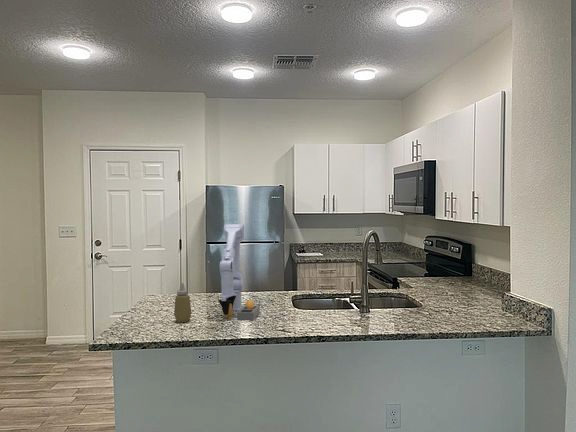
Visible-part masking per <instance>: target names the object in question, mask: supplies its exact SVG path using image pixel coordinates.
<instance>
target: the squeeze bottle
mask: <svg viewBox="0 0 576 432" xmlns="http://www.w3.org/2000/svg"><path fill="white" fill-rule="evenodd" d="M176 292H177V295H176V296H174V297H175V298H174V299H175V300H174V311H173V315H174V317H175V321H176V322H177V323H186V322H187V323H188V322H189V321H190V320H191V316H192V306H191V298H190V297H191V296H190V294H188V290H187V289H186V288H185V284H184V282H180V286H179V290H177V291H176Z"/></svg>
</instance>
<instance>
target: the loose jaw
mask: <svg viewBox="0 0 576 432" xmlns="http://www.w3.org/2000/svg"><path fill="white" fill-rule="evenodd" d="M232 317H233V310H232V304H231V303H230V305H229V313H228V315H224V314H223V318H226V319H228V318H232Z"/></svg>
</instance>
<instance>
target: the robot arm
mask: <svg viewBox="0 0 576 432" xmlns="http://www.w3.org/2000/svg"><path fill="white" fill-rule="evenodd" d="M223 234H224V237H225V239H226V247H225V248H224V249H223V252H222V258H221V261H219V275H220V277H221V278H220V279H221V284H220V285H221V287H220V288H221V294H220V295H221V296H220V297H221V298H220V299H219V300H218V303H219V305H220V307H221V310H222V314H223V316H224V315H228V313H229V305H230V303H231V304H232V311H239V310H240V309H241V308H242V307H243V306H244V305H242V291H244V288H245V278H244V276H243V274H241V273H240V272H239V270H240V269H239V268H240V245H241V242H242V241H244V237H245V227H244V224H243V223H225V224H224V226H223Z"/></svg>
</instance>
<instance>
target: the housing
mask: <svg viewBox="0 0 576 432" xmlns="http://www.w3.org/2000/svg"><path fill="white" fill-rule="evenodd" d="M242 306H243V307H242V308H241V309H240V310H237V312H236V320H237V321H255V319H256V318H257V317H258V316H259V314H260V313H261V311H260V307H261V306H260V305H255V300H246V301H245V305H242Z"/></svg>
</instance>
